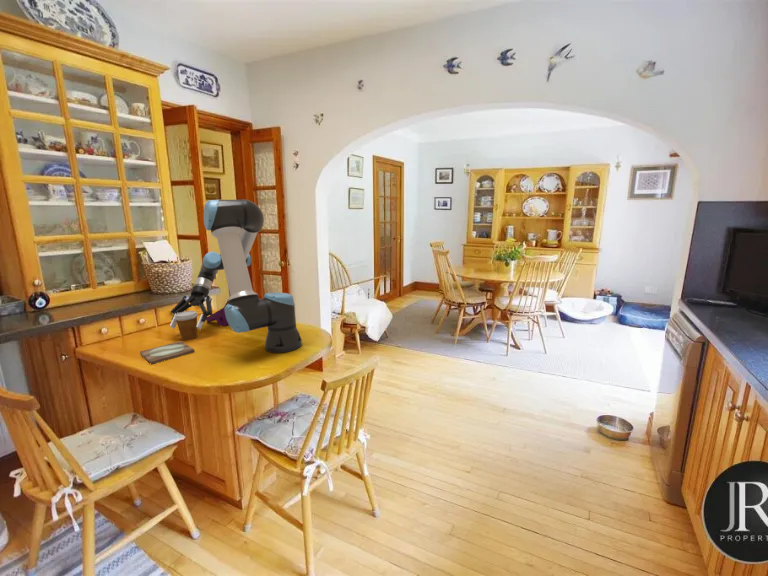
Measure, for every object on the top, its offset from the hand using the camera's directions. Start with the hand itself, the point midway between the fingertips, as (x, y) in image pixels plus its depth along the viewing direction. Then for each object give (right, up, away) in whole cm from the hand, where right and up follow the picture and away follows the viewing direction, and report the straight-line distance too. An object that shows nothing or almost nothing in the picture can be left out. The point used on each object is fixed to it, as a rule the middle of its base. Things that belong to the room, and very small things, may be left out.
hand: (185, 327), depth 170 cm
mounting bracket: (+6, 0, +26) cm, 27 cm away
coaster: (+1, -9, -15) cm, 18 cm away
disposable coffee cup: (+1, -5, +3) cm, 6 cm away
